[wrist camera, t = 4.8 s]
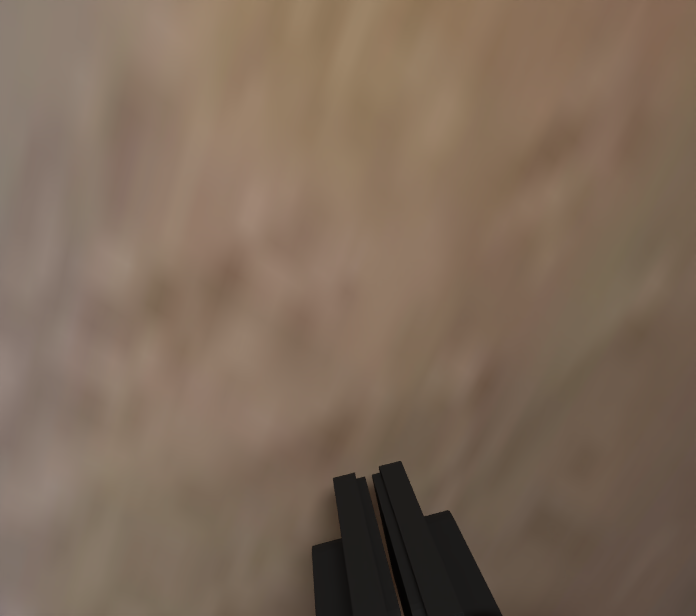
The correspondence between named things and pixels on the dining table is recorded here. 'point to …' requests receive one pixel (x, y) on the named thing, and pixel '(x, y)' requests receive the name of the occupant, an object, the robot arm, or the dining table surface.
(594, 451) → the dining table surface
